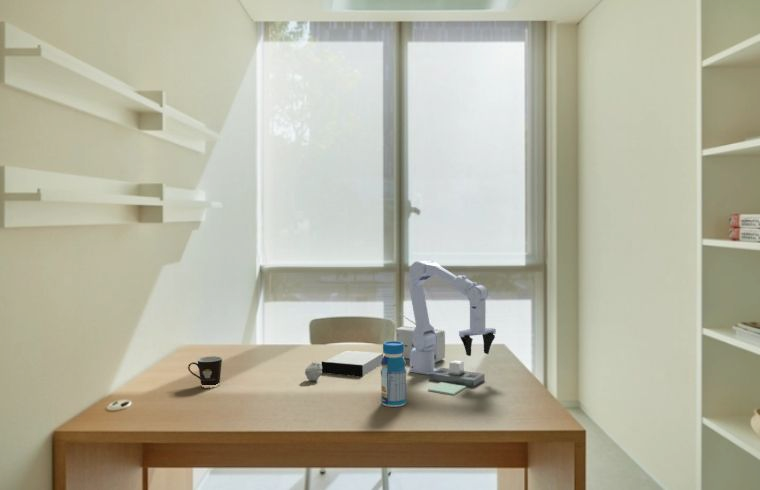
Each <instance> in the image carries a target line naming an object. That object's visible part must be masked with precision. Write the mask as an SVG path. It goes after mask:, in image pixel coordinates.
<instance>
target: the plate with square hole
mask: <svg viewBox="0 0 760 490" xmlns="http://www.w3.org/2000/svg"><path fill="white" fill-rule="evenodd" d="M436 369H437V370H435V371H433V372H431V373H429V375H428V381H432V382H438V383H440V382H443V383H449V384H455V385H461V386H466V387H468V388H475V387H476V386H478V385H480V384H481V383H483V382H484V381H485V373H479V372H473V371H467V370H464V375H462V376H454V375H449V368H445V367H440V368H436Z"/></svg>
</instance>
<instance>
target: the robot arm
mask: <svg viewBox="0 0 760 490" xmlns="http://www.w3.org/2000/svg"><path fill="white" fill-rule="evenodd" d="M408 270H409V277H408V288H409V294H410V298H411V299H410V300H411V304H412V311H413V316H414V317H413V318H414V323H416V325H415V326H414V327H415V329H414V331H413V345H414V347H415V348H413V349H412V350H411V352H410V359H409V370H408V372H410V373H416V374H423V375H428V376H429V373H431V372H433V371H435V370H437V369H438V368H436V367H435V363H434V348H435V345H436V344H437V342H438V337H437V335H436V333H435V331H434V329H435V328H434V326H433V325H432V324H431V323H430V318H429V314H428V313H429V312H428V307H427V306H428V305H427V302H426V296H425V290H424V285H425V283H426V282H427V280H428V279H429V278H431V277H432V276H435V277H438V278H440V279H442V280H443V281H446V282H447V283H449V284H451V285H452V288H453V289H454V290H456V291H457V292H459V293H461V294H462V295H464V296H466V298H467V300H468V301H469V329H463V330H459V331H458V336H459V338H460V340H461V342H462V345H463V346H464V349H465V354H466V356H468V357H471V356H472V344H473V338H472V337H471V336H482V340H483V353H484V354H485V355H489V354H490V350H491V346H492V343H493V341H494V340H495V338H496V334H497V333H496V330H497V329H496V328H495V327H486V314H487V313H486V312H487V311H486V307H487V306H486V299H487V298H488V296H489V290H488V288H487V286H485V285H484V284H477V282H476V281H472V280H470V279H469V278H467V276H466V275H462V274H461V275H455V274H454V273H452V272H450V271H449V270H448V269H446V268H444V267H443V266H441V265H440V264H439V263H438V262H436V261H435V262H434V261H433V260H431V259H428V260H422V261H421V260H420V261H414V262H413V263H412V264H411V265H410V267H409V269H408Z"/></svg>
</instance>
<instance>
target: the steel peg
mask: <svg viewBox="0 0 760 490" xmlns="http://www.w3.org/2000/svg"><path fill="white" fill-rule="evenodd" d="M464 364H465V362H464V361H462V360H455V359H454V360H451V361H450V362H449V365H448V366H449V368H448V369H449V375H454V376H462V375H464V371H465V369H464V368H465V367H464V366H465V365H464Z"/></svg>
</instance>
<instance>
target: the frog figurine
mask: <svg viewBox="0 0 760 490" xmlns="http://www.w3.org/2000/svg"><path fill="white" fill-rule="evenodd" d="M321 374H322V363H321V364H320V362H317V361H313V362H311V364H309V365H308V366H307V367H306V368H305V371H304V375H305V376H306V378H307V380H308V381H311V382H315V381H317V380H319V378H320V377H321Z"/></svg>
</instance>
